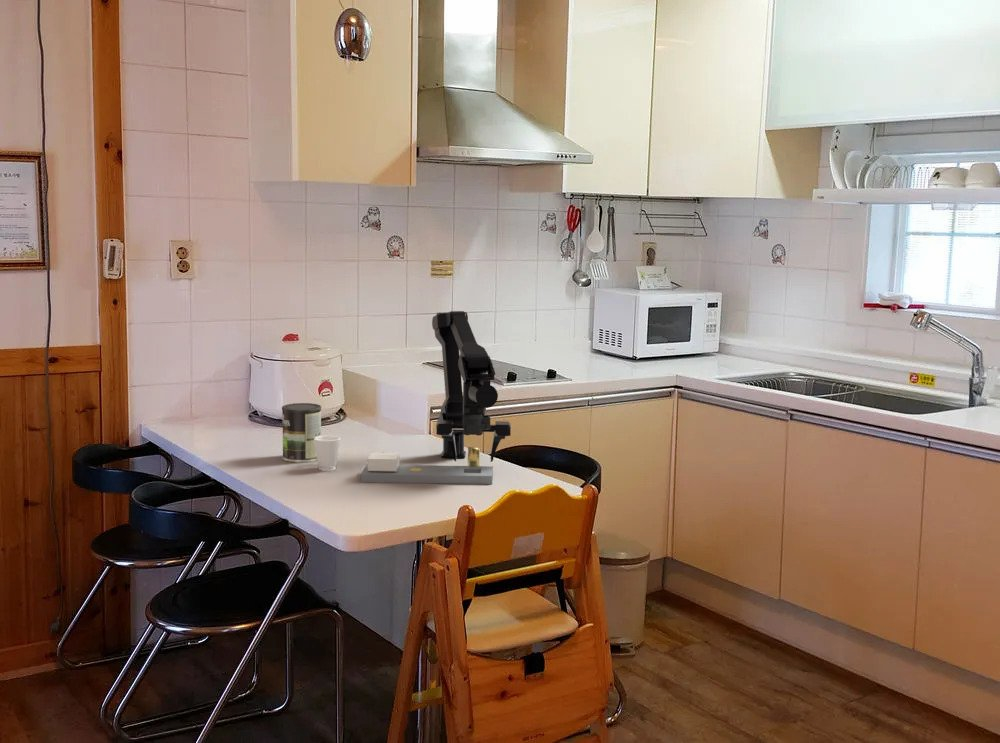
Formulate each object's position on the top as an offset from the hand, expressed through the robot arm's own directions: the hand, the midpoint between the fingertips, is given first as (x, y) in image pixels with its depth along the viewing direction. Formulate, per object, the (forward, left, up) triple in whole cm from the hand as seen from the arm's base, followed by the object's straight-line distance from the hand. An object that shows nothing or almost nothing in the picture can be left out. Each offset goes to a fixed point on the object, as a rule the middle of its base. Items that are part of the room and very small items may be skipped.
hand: (473, 461), depth 263 cm
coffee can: (-11, -46, -3) cm, 47 cm away
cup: (-1, -38, -3) cm, 38 cm away
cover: (+8, -22, 0) cm, 23 cm away
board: (+8, -11, -2) cm, 14 cm away
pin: (0, 0, -3) cm, 3 cm away
